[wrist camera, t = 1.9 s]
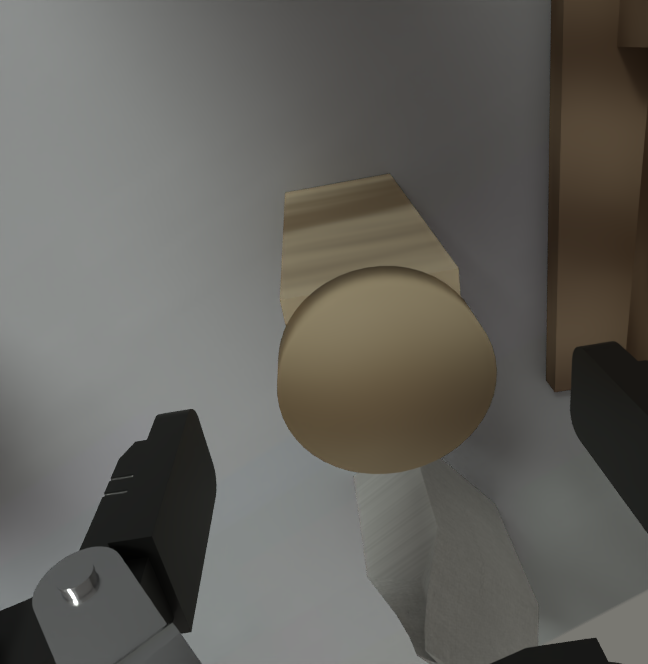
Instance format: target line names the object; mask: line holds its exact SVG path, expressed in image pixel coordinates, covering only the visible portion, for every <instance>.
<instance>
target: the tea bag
mask: <svg viewBox="0 0 648 664" xmlns="http://www.w3.org/2000/svg"><path fill="white" fill-rule="evenodd" d="M353 477H354V484H355V491H356V499H357V506H358V513H359V520H360V528H361V535H362V542H363V549H364V557H365V564H366V571H367V577H368V578H369V580H370V581H371V582H372V584H373V585H374V586H375V588H376V589H377V590H378V591H379V593H380V594H381V595H382V597H383V598H384V599H385V601H386V602H387V603H388V604H389V606H390V607H391V608H392V610H393V611H394V612H395V614H396V615H397V617H398V618H399V620H400V622H401V623H402V625H403V627H404V628H405V630H406V632H407V633H408V635H409V637H410V639H411V642H412V644H413V647H414V649H415V652H416V654H417V656H419V657H420V658H422V659H423V660H425V661H427V662H428V663H430V664H491V663H493V662H495V661H497V660H500V659H502V658H504V657H506V656H509V655H511V654H513V653H515V652H518V651H520V650H522V649H524V648H529V647H536V646H538V622H539V604H538V602H537V600H536V597H535V595H534V593H533V590H532V588H531V586H530V584H529V581H528V579H527V577H526V574H525V572H524V570H523V567H522V565H521V563H520V561H519V558H518V556H517V554H516V551H515V549H514V547H513V544H512V542H511V540H510V537H509V535H508V533H507V531H506V528H505V526H504V524H503V521H502V519H501V517H500V514H499V512H498V510H497V508H496V505H495V504H494V503H493V502H492V501H491V500H490V499H488V498H487V497H486V496H485V495H484V494H482V493H481V492H480V491H479V490H478V489H477V488H475V487H474V486H473V485H472V484H471V483H469V482H468V481H467V480H466V479H465V478H463V477H462V476H461V475H460V474H459V473H458V472H456V471H455V470H454V469H453V468H452V467H450V466H449V465H448V464H447V463H446V462H444V461H443V460H442V459H441V458H440V459H438V460H436V461H434V462H431V463H429V464H427V465H425V466H422V467H418V468H415V469H412V470H408V471H403V472H398V473H389V474H367V473H357V474H356V475H355V476H353Z"/></svg>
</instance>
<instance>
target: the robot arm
mask: <svg viewBox="0 0 648 664" xmlns="http://www.w3.org/2000/svg"><path fill="white" fill-rule="evenodd" d="M570 414H571V420H572V424H573V427H574V430H575V432H576V435H577V436H578V438H579V440H580V441H581V442H582V444H583V445H584V447H585V448H586V449H587V451H588V452H589V453H590V455H591V456H592V458H593V459H594V460H595V462H596V463H597V464H598V466H599V467H600V469H601V470H602V471H603V473H604V474H605V475H606V477H607V478H608V480H609V481H610V482H611V484H612V485H613V486H614V488H615V489H616V491H617V492H618V493H619V495H620V496H621V497H622V499H623V500H624V501H625V503H626V504H627V506H628V507H629V508H630V510H631V511H632V512H633V514H634V515H635V517H636V518H637V519H638V521H639V522H640V523H641V525H642V526H643V528H644V529H645V530H646V532H647V533H648V361H647V360H643V361H637V360H636V359H635V358H634V357H633V356H632V355H631V354H630V353H629V352H628V351H626V350H625V349H624V348H623V347H622V346H621V345H620V344H619V343H617V342H615V341H609V342H603V343H597V344H591V345H585V346H579V347H576V348H575V349H574V351H573V355H572V372H571V400H570ZM104 494H105V497H102V500H101V502H100V504H99V506H98V509H97V511H96V513H95V516H94V518H93V520H92V523H91V525H90V527H89V530H88V532H87V534H86V536H85V539H84V541H83V543H82V546H81V548H80V550H79V551H77V552H75V553H73V554H71V555H69V556H67V557H65V558H64V559H62V560H61V561H59V562H58V563H57V564H56V565H54V566H53V567H52V568H51V569H50V570H49V571H48V572H47V573H46V574H45V575H44V576H43V578H42V579H41V580H40V582H39V583H38V585H37V587H36V589H35V591H34V594H33V597H32V598H30V599H28V600H26V601H23V602H21V603H18V604H16V605H14V606H11V607H9V608H6V609H4V610H1V611H0V664H202V663H201V662H200V660H199V659H198V658H197V656H196V655H195V653H194V652H193V650H192V649H191V648H190V646H189V645H188V643H187V642H186V640H185V639H184V637H183V636H182V635H181V633H188V632H191V631H192V625H193V619H194V614H195V608H196V603H197V597H198V592H199V586H200V581H201V575H202V570H203V564H204V559H205V553H206V547H207V542H208V536H209V531H210V525H211V520H212V514H213V509H214V503H215V498H216V475H215V469H214V465H213V462H212V459H211V456H210V453H209V450H208V446H207V443H206V440H205V437H204V434H203V431H202V428H201V424H200V421H199V418H198V416H197V413H196V412H195V410H193V409H188V410H182V411H176V412H170V413H164V414H158V415H157V416H156V418H155V420H154V423H153V425H152V428H151V431H150V433H149V436H148V439H147V440H143V441H137V442H135V443H134V444H133V445H132V446H131V447H130V448H129V449H128V450H127V451H126V452H125V453H124V455H123V456H122V457H121V458H120V459H119V460H118V463H117V465H116V467H115V470H114V472H113V474H112V477H111V481H109V483H108V486H107V488H106V490H105V493H104ZM491 664H620V663H615V662H608V660H607V658H606V656H605V654H604V652H603V650H602V648H601V647H600V644H599V642H598V640H597V639H596V638H591V639H584V640H577V641H570V642H563V643H556V644H550V645H542V646H536V647H529V648H524V649H522V650H520V651H518V652H515V653H513V654H511V655H509V656H506V657H504V658H502V659H500V660H497V661H495V662H493V663H491Z"/></svg>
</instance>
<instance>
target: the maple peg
mask: <svg viewBox="0 0 648 664" xmlns="http://www.w3.org/2000/svg"><path fill="white" fill-rule="evenodd" d="M280 302H281V307H282V311H283V316H284V320H285V325H286V328H285V330H284V332H283V336H282V339H281V343H280V348H279V356H278V378H277V396H278V402H279V407H280V410H281V413H282V416H283V419H284V421H285V423H286V425H287V427H288V429H289V430H290V432H291V433H292V434H293V436H294V437H295V439H296V440H297V441H298V442H299V443H300V444H301V445H302V446H303V447H304V448H305V449H307V450H308V451H309V452H310V453H312V454H313V455H314V456H316V457H318V458H319V459H321V460H323V461H324V462H327V463H329V464H331V465H333V466H335V467H339V468H342V469H345V470H348V471H353V472H358V473H367V474H389V473H398V472H403V471H408V470H412V469H415V468H418V467H422V466H425V465H427V464H429V463H431V462H434V461H436V460H438V459H440V458H441V457H443V456H445V455H447V454H448V453H450V452H451V451H453V450H454V449H455V448H457V447H458V446H459V445H461V444H462V443H463V442H464V441H465V440H466V439H467V438H468V437H469V436H470V435H471V434H472V433H473V432H474V431H475V429H476V428H477V427H478V425H479V424H480V423H481V421H482V420H483V418H484V417H485V415H486V413H487V411H488V409H489V407H490V404H491V401H492V398H493V396H494V391H495V386H496V377H497V368H496V359H495V355H494V351H493V348H492V345H491V343H490V340H489V338H488V336H487V334H486V333H485V331H484V330H483V328H482V327H481V325H480V324H479V322H478V321H477V319H476V318H475V316H474V314H473V313H472V311H471V310H470V308H469V307H468V305H467V304H466V302H465V301H464V300H463V299H462V298H461V296H460V281H459V268H458V267H457V265H456V264H455V263H454V261H453V260H452V259H451V257H450V256H449V254H448V253H447V252H446V250H445V249H444V248H443V246H442V245H441V243H440V242H439V241H438V239H437V238H436V237H435V235H434V234H433V232H432V231H431V230H430V228H429V227H428V226H427V224H426V223H425V221H424V220H423V219H422V217H421V216H420V215H419V213H418V212H417V210H416V209H415V208H414V206H413V205H412V204H411V202H410V201H409V199H408V198H407V197H406V195H405V194H404V193H403V191H402V190H401V188H400V187H399V186H398V184H397V183H396V182H395V180H394V179H393V177H392V176H391V175H390V174H384V175H379V176H373V177H368V178H362V179H357V180H352V181H346V182H341V183H335V184H330V185H324V186H319V187H313V188H308V189H302V190H297V191H291V192H286V193H285V206H284V227H283V247H282V268H281V288H280Z"/></svg>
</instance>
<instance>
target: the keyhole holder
mask: <svg viewBox="0 0 648 664" xmlns="http://www.w3.org/2000/svg"><path fill="white" fill-rule="evenodd" d="M609 341H615V342H617V343H619V344H620V345H621V346H622V347H623V348H624V349H625V350H626V351H628V352H629V353H630V354H631V355H632V356H633V357H634V358H635V359H636V360H637V361H643V360H647V361H648V0H551V57H550V130H549V203H548V276H547V349H546V381H547V382H548V383H549V385H550V386H551V388H552V389H553V390H554V392H560V391H566V390H571V372H572V355H573V351H574V349H575V348H576V347H579V346H585V345H591V344H597V343H603V342H609Z"/></svg>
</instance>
